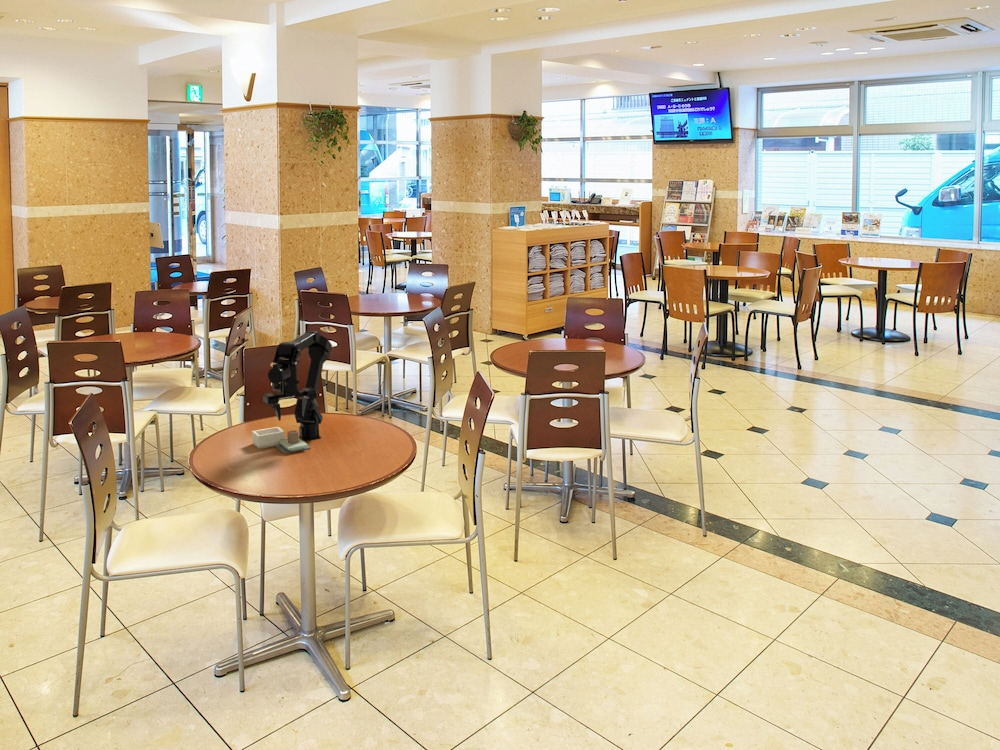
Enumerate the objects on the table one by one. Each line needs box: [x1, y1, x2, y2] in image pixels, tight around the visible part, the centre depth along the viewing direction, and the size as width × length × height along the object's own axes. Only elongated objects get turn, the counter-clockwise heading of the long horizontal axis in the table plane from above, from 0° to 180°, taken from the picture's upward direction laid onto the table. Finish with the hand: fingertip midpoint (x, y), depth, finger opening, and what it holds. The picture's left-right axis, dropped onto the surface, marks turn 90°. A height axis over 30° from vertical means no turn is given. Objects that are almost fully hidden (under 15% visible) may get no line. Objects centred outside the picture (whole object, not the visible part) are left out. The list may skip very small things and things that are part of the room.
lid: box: [279, 430, 309, 451], centre depth 321 cm, size 10×7×6 cm
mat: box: [275, 445, 311, 455], centre depth 322 cm, size 10×8×1 cm
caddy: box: [251, 426, 286, 450], centre depth 326 cm, size 10×7×5 cm
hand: (291, 418), depth 319 cm, fingers open, 9 cm apart
